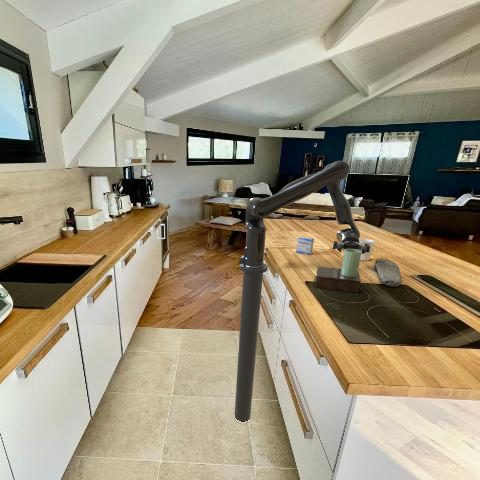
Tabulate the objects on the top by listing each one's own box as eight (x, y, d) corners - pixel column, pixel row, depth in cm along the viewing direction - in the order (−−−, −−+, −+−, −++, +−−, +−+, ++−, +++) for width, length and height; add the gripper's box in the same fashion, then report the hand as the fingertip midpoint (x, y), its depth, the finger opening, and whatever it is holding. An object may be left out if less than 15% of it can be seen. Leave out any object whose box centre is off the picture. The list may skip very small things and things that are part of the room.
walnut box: (314, 287, 129) (316, 275, 127) (315, 276, 141) (317, 266, 139) (358, 293, 123) (361, 281, 121) (356, 281, 135) (358, 270, 133)
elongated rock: (376, 288, 131) (403, 293, 127) (380, 276, 129) (408, 281, 125) (371, 262, 160) (393, 265, 156) (374, 252, 157) (397, 255, 154)
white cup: (355, 260, 165) (358, 241, 162) (353, 256, 172) (357, 238, 168) (371, 261, 163) (376, 242, 159) (369, 257, 169) (373, 239, 166)
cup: (340, 275, 127) (345, 251, 123) (340, 271, 132) (344, 248, 129) (357, 277, 125) (362, 253, 121) (356, 272, 130) (361, 249, 126)
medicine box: (295, 252, 179) (297, 237, 176) (298, 251, 183) (300, 236, 179) (309, 254, 175) (312, 239, 172) (312, 253, 178) (314, 238, 175)
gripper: (334, 232, 144) (334, 240, 130) (368, 235, 139) (373, 243, 125) (331, 248, 147) (331, 257, 133) (365, 251, 142) (369, 261, 128)
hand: (351, 250), depth 129 cm, fingers open, 8 cm apart
